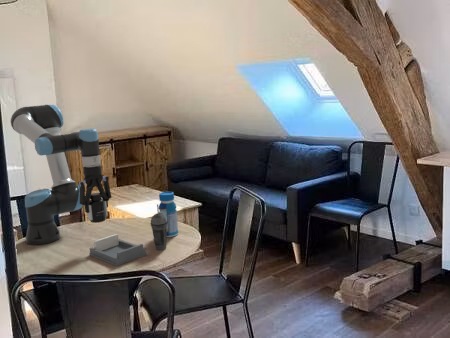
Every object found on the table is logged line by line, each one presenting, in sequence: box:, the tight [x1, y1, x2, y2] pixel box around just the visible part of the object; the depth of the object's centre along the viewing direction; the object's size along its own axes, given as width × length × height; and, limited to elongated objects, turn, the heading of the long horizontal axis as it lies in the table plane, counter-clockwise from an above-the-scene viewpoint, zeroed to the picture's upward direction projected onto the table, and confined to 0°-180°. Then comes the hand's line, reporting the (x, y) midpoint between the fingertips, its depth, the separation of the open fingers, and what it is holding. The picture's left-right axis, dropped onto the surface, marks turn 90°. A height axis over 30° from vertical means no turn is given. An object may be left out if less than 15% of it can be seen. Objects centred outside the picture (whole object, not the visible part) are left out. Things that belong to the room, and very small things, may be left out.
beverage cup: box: [150, 203, 168, 251], centre depth 208 cm, size 7×7×20 cm
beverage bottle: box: [158, 191, 179, 238], centre depth 225 cm, size 8×8×20 cm
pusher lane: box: [89, 238, 147, 267], centre depth 204 cm, size 20×15×5 cm
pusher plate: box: [93, 233, 120, 251], centre depth 210 cm, size 1×11×5 cm, turn 136°
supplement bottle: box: [89, 192, 107, 224], centre depth 210 cm, size 7×7×12 cm
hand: (97, 217), depth 211 cm, fingers closed on supplement bottle, 7 cm apart
